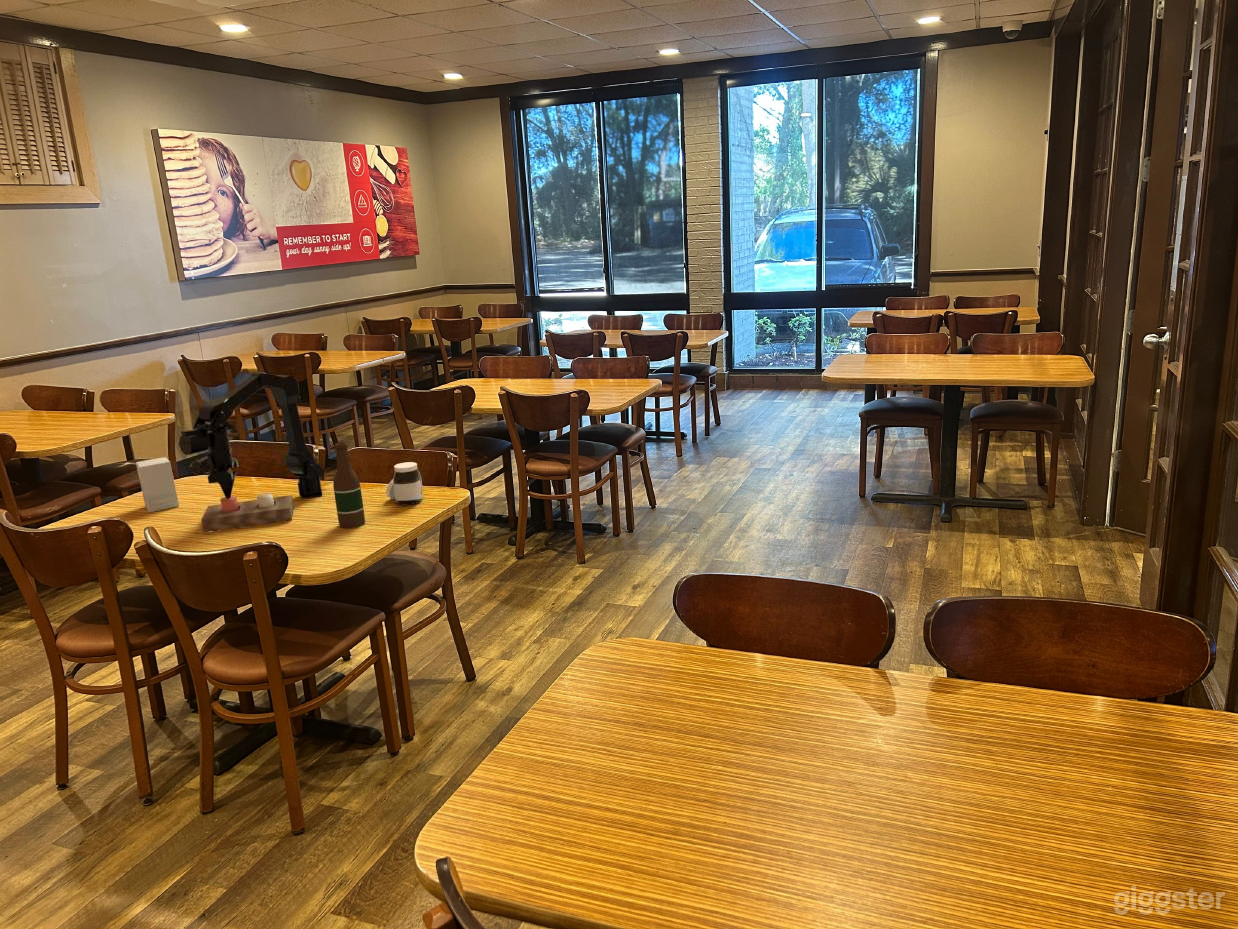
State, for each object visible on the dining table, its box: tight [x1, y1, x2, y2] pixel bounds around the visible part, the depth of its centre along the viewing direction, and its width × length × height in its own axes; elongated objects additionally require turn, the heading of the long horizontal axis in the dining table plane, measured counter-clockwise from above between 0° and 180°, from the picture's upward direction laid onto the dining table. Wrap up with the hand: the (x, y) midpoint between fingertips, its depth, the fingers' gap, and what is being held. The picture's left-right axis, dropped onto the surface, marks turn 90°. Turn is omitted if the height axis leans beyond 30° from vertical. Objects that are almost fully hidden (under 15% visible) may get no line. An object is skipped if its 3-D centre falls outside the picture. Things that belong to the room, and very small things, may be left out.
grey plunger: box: [256, 493, 274, 508], centre depth 265 cm, size 4×4×6 cm
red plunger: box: [219, 495, 239, 513], centre depth 262 cm, size 4×4×6 cm
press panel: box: [200, 494, 295, 533], centre depth 264 cm, size 24×14×4 cm, turn 107°
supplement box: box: [135, 457, 180, 513], centre depth 281 cm, size 9×9×15 cm
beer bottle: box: [332, 441, 366, 529], centre depth 251 cm, size 8×8×24 cm
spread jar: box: [385, 461, 424, 505], centre depth 273 cm, size 12×11×12 cm
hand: (228, 498), depth 261 cm, fingers closed, pressing on red plunger
